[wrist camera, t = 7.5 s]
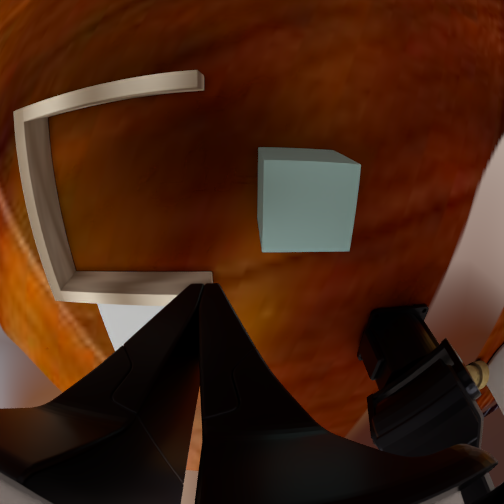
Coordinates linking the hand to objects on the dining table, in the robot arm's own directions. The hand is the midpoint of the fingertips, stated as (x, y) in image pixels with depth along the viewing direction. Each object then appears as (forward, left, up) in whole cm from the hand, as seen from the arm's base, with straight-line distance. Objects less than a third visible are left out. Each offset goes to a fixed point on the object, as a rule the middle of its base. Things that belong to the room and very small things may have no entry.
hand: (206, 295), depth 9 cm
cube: (-5, 0, -12) cm, 13 cm away
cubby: (+8, 0, -12) cm, 14 cm away
